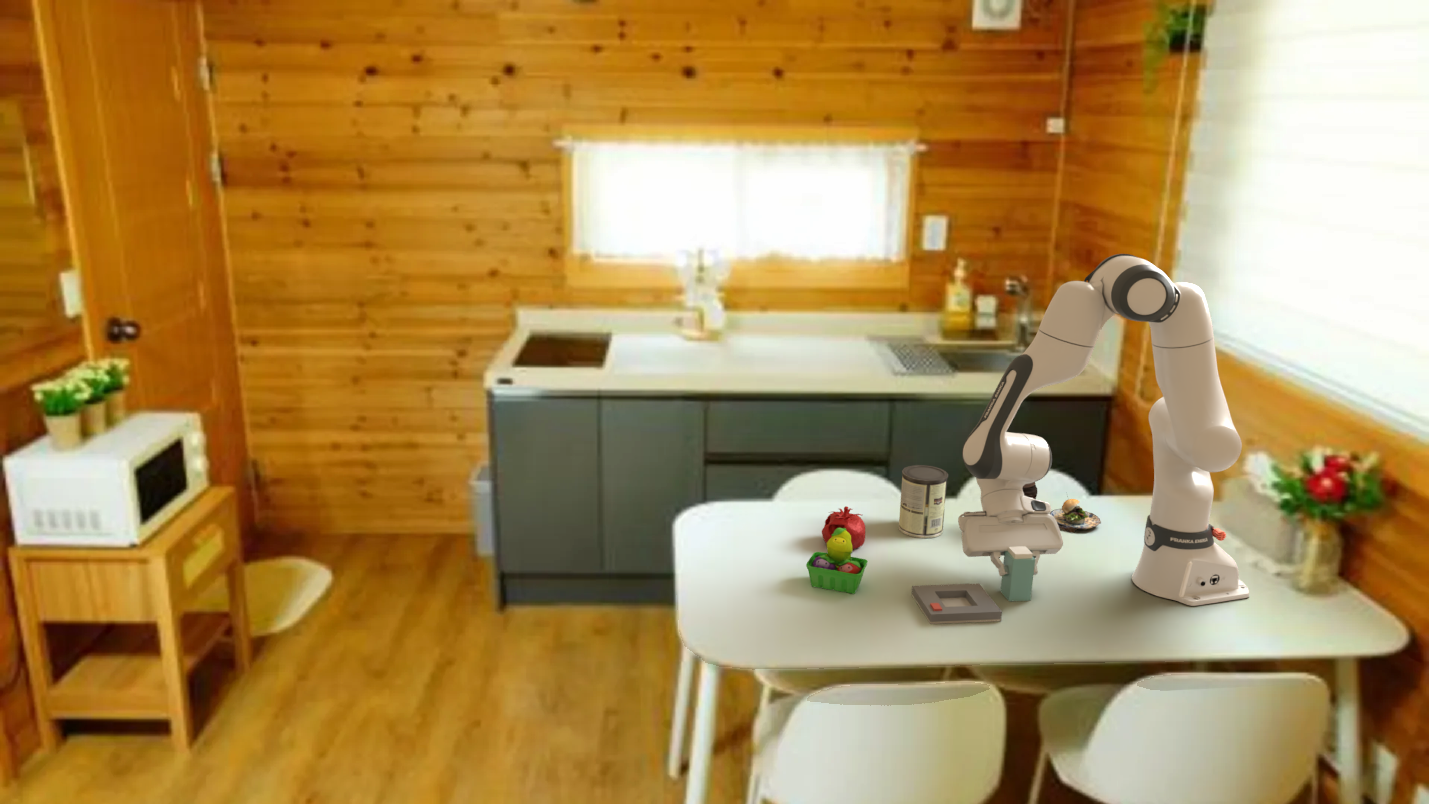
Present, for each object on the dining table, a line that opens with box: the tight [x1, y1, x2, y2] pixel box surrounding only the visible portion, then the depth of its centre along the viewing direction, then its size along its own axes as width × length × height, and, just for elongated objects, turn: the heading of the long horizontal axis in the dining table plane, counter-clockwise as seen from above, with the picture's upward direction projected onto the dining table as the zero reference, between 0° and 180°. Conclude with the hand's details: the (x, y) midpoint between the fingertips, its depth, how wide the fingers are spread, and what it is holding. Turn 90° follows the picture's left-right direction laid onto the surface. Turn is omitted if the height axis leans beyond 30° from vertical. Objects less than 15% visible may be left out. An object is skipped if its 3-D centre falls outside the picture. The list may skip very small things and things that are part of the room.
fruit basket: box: [805, 528, 868, 595], centre depth 212 cm, size 11×9×11 cm
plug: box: [1000, 546, 1035, 602], centre depth 209 cm, size 4×4×10 cm
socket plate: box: [911, 582, 1003, 625], centre depth 205 cm, size 14×12×2 cm
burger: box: [1049, 492, 1102, 534], centre depth 246 cm, size 12×12×8 cm
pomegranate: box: [821, 506, 866, 551], centre depth 231 cm, size 10×10×9 cm
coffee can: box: [898, 464, 949, 539], centre depth 240 cm, size 10×10×14 cm
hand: (1019, 575), depth 208 cm, fingers closed on plug, 4 cm apart
